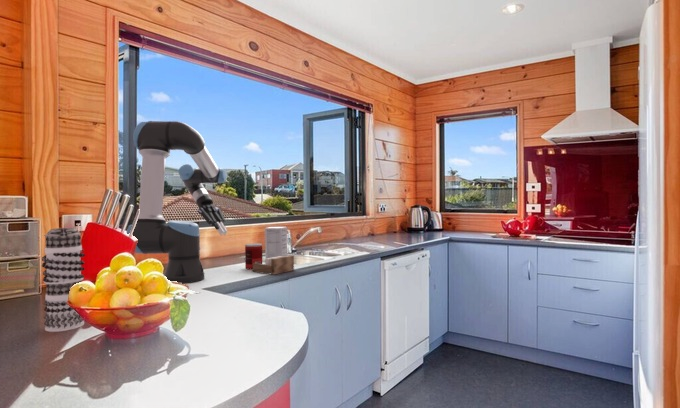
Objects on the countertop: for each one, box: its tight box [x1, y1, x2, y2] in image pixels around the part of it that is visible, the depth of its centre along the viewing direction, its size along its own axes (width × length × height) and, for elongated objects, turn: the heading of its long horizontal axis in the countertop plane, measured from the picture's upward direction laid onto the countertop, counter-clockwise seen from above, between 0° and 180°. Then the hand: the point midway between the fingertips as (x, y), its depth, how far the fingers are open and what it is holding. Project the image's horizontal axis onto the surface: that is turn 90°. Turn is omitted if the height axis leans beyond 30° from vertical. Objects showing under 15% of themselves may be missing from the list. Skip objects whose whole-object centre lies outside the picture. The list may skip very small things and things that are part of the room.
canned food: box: [244, 242, 263, 270], centre depth 188 cm, size 8×8×11 cm
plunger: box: [264, 256, 283, 265], centre depth 180 cm, size 9×2×6 cm, turn 144°
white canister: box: [264, 226, 288, 259], centre depth 215 cm, size 10×9×17 cm
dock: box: [252, 254, 295, 275], centre depth 180 cm, size 12×13×6 cm
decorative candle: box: [41, 227, 86, 333], centre depth 104 cm, size 9×9×25 cm
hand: (224, 233), depth 200 cm, fingers closed
